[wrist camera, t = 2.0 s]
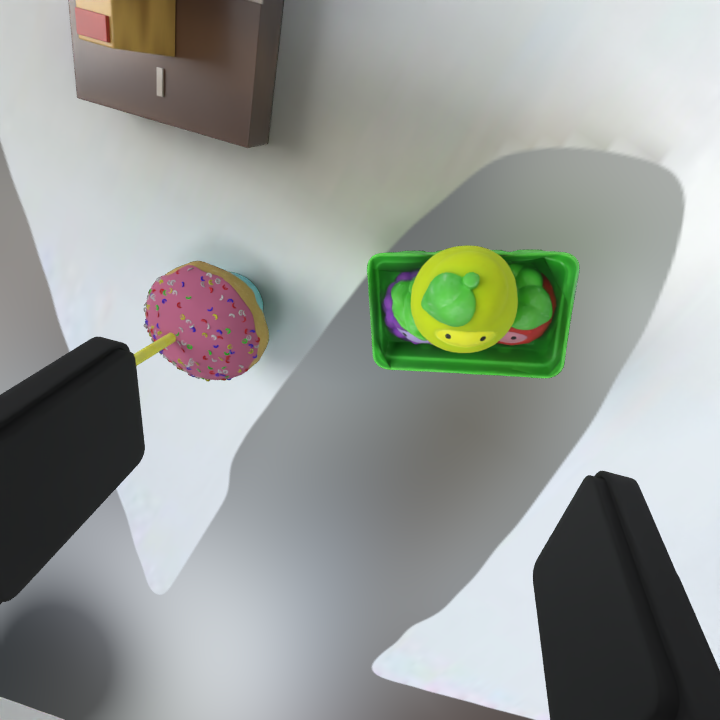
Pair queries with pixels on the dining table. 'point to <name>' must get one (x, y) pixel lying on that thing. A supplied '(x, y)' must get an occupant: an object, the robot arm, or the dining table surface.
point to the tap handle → (128, 24)
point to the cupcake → (205, 321)
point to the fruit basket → (472, 310)
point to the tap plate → (194, 71)
